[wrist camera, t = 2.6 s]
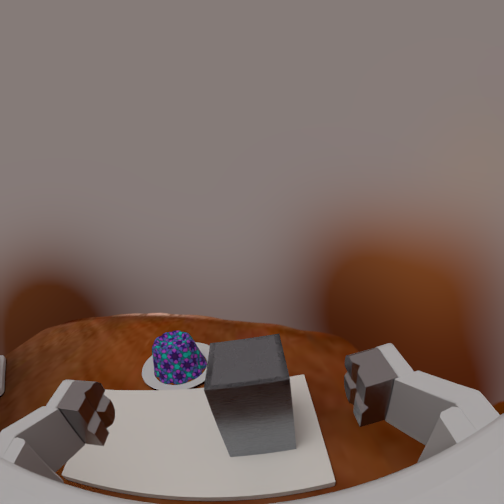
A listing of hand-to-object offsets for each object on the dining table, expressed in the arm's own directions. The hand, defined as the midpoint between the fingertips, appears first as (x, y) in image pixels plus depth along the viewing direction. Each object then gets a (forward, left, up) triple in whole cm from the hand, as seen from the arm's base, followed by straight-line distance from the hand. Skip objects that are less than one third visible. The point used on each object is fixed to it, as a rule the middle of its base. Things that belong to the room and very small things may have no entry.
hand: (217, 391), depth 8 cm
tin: (-11, +6, -18) cm, 22 cm away
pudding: (-29, +3, -20) cm, 35 cm away
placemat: (-15, -1, -19) cm, 24 cm away
